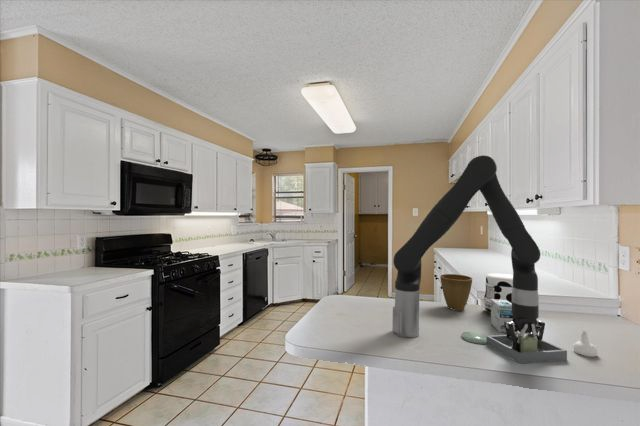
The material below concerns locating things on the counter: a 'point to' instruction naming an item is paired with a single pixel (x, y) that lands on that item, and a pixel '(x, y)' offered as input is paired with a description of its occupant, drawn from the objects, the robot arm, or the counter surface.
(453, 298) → the plant pot
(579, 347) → the garlic bulb
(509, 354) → the bin
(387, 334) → the counter surface
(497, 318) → the light bulb box
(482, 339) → the saucer
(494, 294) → the milk container
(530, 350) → the olive box
